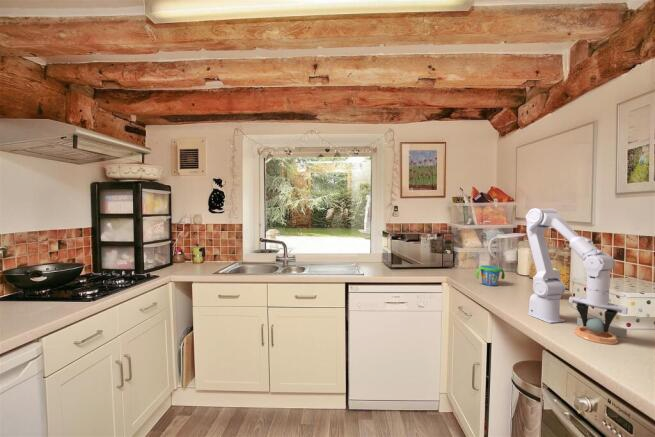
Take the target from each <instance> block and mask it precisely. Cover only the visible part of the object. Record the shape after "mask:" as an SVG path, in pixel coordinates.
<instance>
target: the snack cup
mask: <svg viewBox="0 0 655 437" xmlns="http://www.w3.org/2000/svg"><path fill="white" fill-rule="evenodd" d="M480 272H481V273H480ZM500 273H501V278H500ZM480 274H481V280H482V281H481V282H482V284H483V285H485V286H489V287H491V286H492V287H493V286H495V287H497V285H498V283H499V279H502V280H505V278H506V276H505V270H504V269H502V268H501V267H500V266H496V265H487V264H486V265H484V264H483V265H480V266H479V268H477V270H476V273H475V278H476V279H480V278H479V275H480Z"/></svg>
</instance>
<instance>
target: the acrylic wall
mask: <svg viewBox="0 0 655 437" xmlns="http://www.w3.org/2000/svg"><path fill="white" fill-rule="evenodd" d="M578 326H583V322H582V318H581V317H577V318H576V327H578ZM608 332H611V333H612V334H614V335H616V337H619V338H620V337H621V338H623V339H627V336H628V328H624V327H620V326H616V325H612V324H610V326H609V329H608Z"/></svg>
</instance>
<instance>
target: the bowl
mask: <svg viewBox="0 0 655 437" xmlns="http://www.w3.org/2000/svg"><path fill="white" fill-rule="evenodd" d="M573 333H574V334H575V336H577V337H579V338H581V339H584V340H587V341H589V342H593V343H597V344H603V345H617V344H618V343H619V340H618V338H617V336H616V335H614V334H612V333H611V332H602V333H594V332H591V331H590V330H589V329H588V328H587V326H586V327H584V326H575V329H574V331H573Z"/></svg>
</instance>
